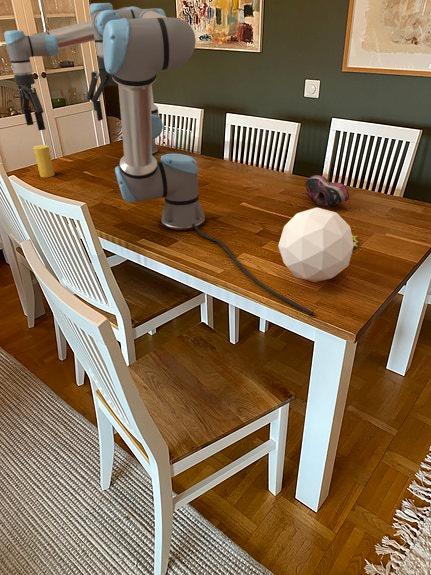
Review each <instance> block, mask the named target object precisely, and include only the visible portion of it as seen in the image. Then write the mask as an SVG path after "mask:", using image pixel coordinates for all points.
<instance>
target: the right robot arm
mask: <svg viewBox="0 0 431 575" xmlns="http://www.w3.org/2000/svg"><path fill="white" fill-rule="evenodd" d="M89 12H90V13H89V16H90V21H91V20H92V26H93V32H94V38H95V40H94V44H95V45H94V46H95V54H96V56H97V65H98V70H99V71H96V70H95V71H91V74H90V75H91V80H90V84H89V88H88V90H87V91H88V92H87V96H86V99H87V100H88V101H91V102H92V105H93V106H92V107H93V110H94V112H95V113H96V117H97V122H100V121H103V120H104V116H103V111H102V104H101V100H99V99H100V97H101V95H102V93H103V91H104V90H105V88H106V87H111V86H112V87H116V86H117V87H118V96H119V109H120V110H119V112H120V121H121V122H120V123H121V135H122V137H123V140H122V148H123V156H122V157H121V158H120V160H119V165H117V166H116V167H115V168H114V173H115V176H116V180H117V184H118V187H119V191H120V194H121V196H122V198H123V200H124V201H125V202H126V203H139V202H143V201H149V200H156V199H163V198H164V204H163V209H162V213H161V219H160V220H161V225H162V227H163V228H165V229H167V230H170V231H175V232H176V231H177V232H185V231H186V232H187V231H192V230H196V232H197V233H198V234H199V235H200V236H201V237H203V238H205V239H207V240H210V241H212V242H215V243H217V244H219V245H220V247H222V248H223V250H224V251H225V252H226V253H227V254H228V256H229V257H230V258H231V260H232V261H233V262H234V263H235V265H237V266H238V268H240V270H241V271H242V272H243V273H244V274H245V275H246V276H247V277H248V278H249V279H251V280H252V281H253V282H254V283H256V284H257V285H259V286H260V287H261V288H262V289H264V290H266V291H267V292H269V293H270V294H272V295H274V296H275V297H277V298H279V299H280V300H283V301H284V302H286V303H287V304H289V305H292V307H295V308H297V309H299V310H301V311H303V312H305V313H306V314H309V315H313V314H314V312H313V311H312V310H310V309H308V308H306V307H304V306H302V305H300V304H299V303H297V302H294V301H292V300H291V299H289V298H287V297H285V296H284V295H282V294H280V293H278V292H276V291H275V290H273V289H271V288H270V287H268V286H267V285H266V284H264V283H263V282H261V281H260V280H258V279H257V278H256V277H255V276H253V275H252V274H251V273H250V272H249V271H248V270H247V269H246V268H245V267H244V266H243V265H242V264H241V263H240V261H238V260H237V258H236V257H235V256H234V255H233V253H232V252H231V251H230V250H229V248H228V246H226V245H225V244H224V243H223V242H222V241H221V240H219V239H217V238H214V237H211V236H209V235H206V234H204V233H203V231H201V229H200V228H201V227H202V226H203V225H204V224H205V223H206V216H205V212H204V210H203V208H202V204H201V202H200V196H199V176H198V174H199V171H198V164H197V163H198V162H197V160H196V159H195V158H194V157H192V156H191V155H187V154H182V153H166V154H162V155H161V156H160V160H158V161H157V159H156V157H155V156H153V155H152V119H151V85H152V86H153V84H154V83H155V82H156V81H157V71H164V70H165V71H166V70H172V69H176V68H178V67H180V66H182V65H184V64H185V63H186V62H188V61H189V59H191V57H192V55H193V53H194V51H195V49H196V41H197V40H196V34H195V30H194V29H193V27H192V26H191V24H190V23H188V22H187V21H186V20H184V19H182V18H179V17H167V15H166V13H165V10H164V9H162V8H156V7H151V8H140V9H135V10H132V9H131V10H118V9H114V6H113V4H112V3H110V2H98V3H97V2H96V3H90V5H89ZM99 78H100V79H101V81H100V83H99V86H98V87H97V84H98V81H99ZM96 88H97V89H96Z"/></svg>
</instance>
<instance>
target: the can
mask: <svg viewBox="0 0 431 575" xmlns="http://www.w3.org/2000/svg"><path fill="white" fill-rule="evenodd" d="M33 153H34V156H35V161H36V166H37V169H38V173H39V177H41V178H52V177H54V176H55V174H56V173H55V168H54V165H53V161H52V156H51V152H50V147H49V145H48V144H39V145H35V146H33Z"/></svg>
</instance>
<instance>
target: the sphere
mask: <svg viewBox="0 0 431 575" xmlns="http://www.w3.org/2000/svg"><path fill="white" fill-rule="evenodd" d="M351 232H352V229H351V226H350V225H349V224H348V222H346V221H345V219H344V218H342V216H340V214H338V212H335V211H333V210H332V211H331V210H328V209H324V208H320V207H313V208H310V209H307V210H303V211H300V212H297V213H296V214H294V216H292V217H291V218H290V219H289V221H288V222H287V223H286V224H284V226H283V228H282V232H281V236H280V239H279V242H278V245H277V247H278V251H279V253H280V256H281V258H282V262H283V264H284V265H285V266H286V267H287V269H288V270H289V271H290V273H291V274H292V275H293V276H294V278H298V279H301V280H304V281H309V282H312V283H318V282H323V281H326V280H330V279H331V280H332V279H333V278H335V277H336V276H338V274H340V273H341V272H342V271H344V270H345V269H346V268H348V266H349V265H350V261H351V258H352V253H353V251H354V250H353V249H354V247H355V246H354V244H353V242H354V240H353V239H352V235H353V233H351ZM353 246H354V247H353Z"/></svg>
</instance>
